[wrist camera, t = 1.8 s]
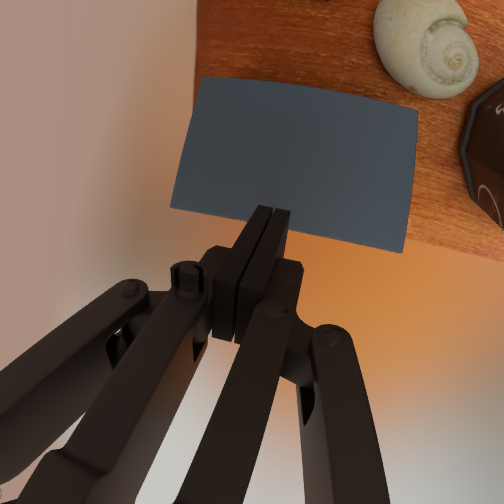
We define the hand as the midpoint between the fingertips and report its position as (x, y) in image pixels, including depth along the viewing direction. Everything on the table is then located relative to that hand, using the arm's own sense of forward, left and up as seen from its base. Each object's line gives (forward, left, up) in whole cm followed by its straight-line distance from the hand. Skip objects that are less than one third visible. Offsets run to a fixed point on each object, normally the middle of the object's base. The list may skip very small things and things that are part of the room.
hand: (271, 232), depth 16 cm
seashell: (-17, +6, -22) cm, 28 cm away
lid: (-2, 0, -10) cm, 10 cm away
